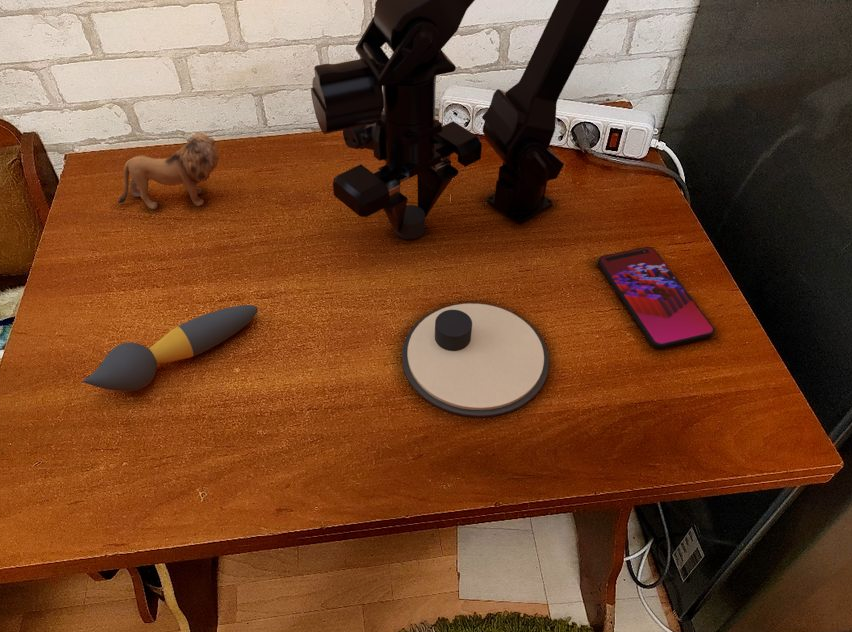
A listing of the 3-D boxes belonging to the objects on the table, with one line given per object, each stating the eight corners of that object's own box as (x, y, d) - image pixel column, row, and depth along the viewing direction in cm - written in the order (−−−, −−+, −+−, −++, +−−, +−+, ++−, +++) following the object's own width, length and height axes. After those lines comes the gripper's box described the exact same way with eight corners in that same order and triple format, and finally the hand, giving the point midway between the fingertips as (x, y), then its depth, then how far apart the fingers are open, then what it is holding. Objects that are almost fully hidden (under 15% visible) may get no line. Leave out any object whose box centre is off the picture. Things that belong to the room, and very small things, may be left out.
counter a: (454, 318, 78) (455, 304, 76) (478, 339, 75) (479, 324, 74) (427, 335, 76) (427, 320, 74) (451, 357, 74) (452, 342, 72)
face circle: (478, 285, 82) (479, 279, 82) (579, 365, 74) (581, 359, 73) (372, 349, 76) (372, 344, 75) (470, 444, 68) (471, 439, 67)
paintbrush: (240, 298, 81) (232, 268, 77) (265, 321, 79) (258, 290, 75) (86, 392, 73) (68, 363, 69) (109, 420, 70) (91, 391, 66)
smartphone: (655, 346, 74) (595, 256, 84) (653, 352, 75) (593, 261, 84) (719, 332, 76) (652, 244, 85) (716, 337, 76) (650, 250, 86)
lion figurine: (227, 180, 96) (213, 123, 90) (229, 203, 93) (214, 145, 86) (119, 195, 95) (97, 137, 88) (118, 219, 91) (94, 161, 84)
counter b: (411, 215, 90) (411, 200, 89) (431, 230, 88) (431, 215, 87) (388, 228, 89) (387, 213, 87) (407, 243, 87) (407, 228, 85)
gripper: (426, 58, 84) (425, 167, 96) (298, 111, 76) (314, 221, 88) (489, 95, 78) (479, 205, 90) (358, 155, 71) (366, 267, 83)
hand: (409, 222), depth 88 cm, fingers closed on counter b, 4 cm apart
